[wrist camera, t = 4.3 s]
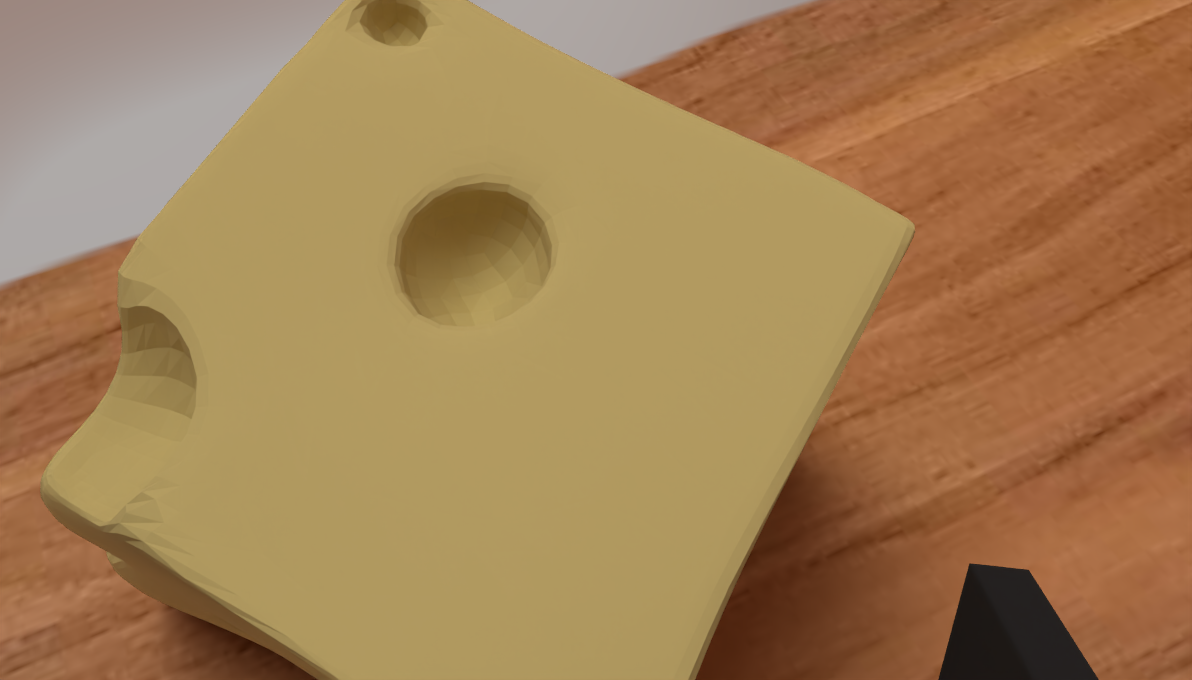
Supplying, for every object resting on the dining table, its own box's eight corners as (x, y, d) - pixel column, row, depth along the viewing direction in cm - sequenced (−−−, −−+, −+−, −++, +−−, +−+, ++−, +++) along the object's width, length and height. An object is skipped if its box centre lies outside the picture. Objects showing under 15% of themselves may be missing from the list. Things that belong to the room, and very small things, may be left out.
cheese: (149, 596, 23) (-100, 441, 14) (435, 219, 27) (390, -94, 18) (578, 871, 21) (620, 903, 12) (811, 424, 25) (974, 196, 16)
